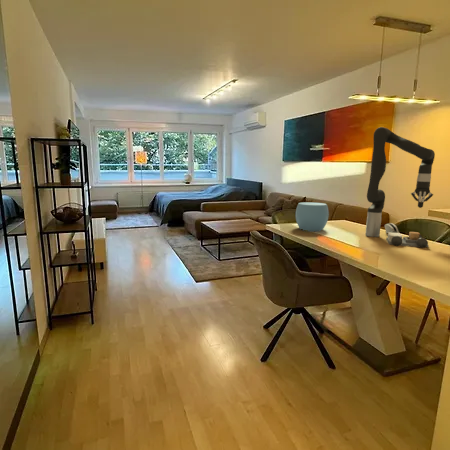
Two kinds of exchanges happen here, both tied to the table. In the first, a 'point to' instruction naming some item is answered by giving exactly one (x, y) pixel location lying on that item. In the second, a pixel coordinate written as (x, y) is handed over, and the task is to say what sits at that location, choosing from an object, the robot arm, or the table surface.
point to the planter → (312, 216)
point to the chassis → (405, 240)
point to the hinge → (391, 228)
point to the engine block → (413, 235)
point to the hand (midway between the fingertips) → (420, 207)
